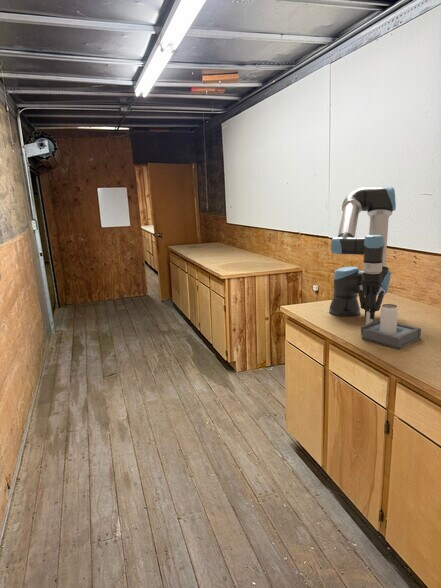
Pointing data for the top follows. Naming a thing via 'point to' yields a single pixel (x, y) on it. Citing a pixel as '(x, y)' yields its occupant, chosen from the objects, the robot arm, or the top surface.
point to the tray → (376, 327)
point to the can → (388, 318)
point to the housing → (393, 337)
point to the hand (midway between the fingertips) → (369, 325)
